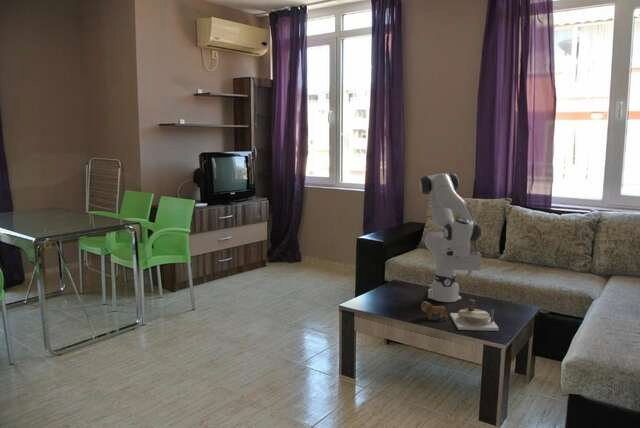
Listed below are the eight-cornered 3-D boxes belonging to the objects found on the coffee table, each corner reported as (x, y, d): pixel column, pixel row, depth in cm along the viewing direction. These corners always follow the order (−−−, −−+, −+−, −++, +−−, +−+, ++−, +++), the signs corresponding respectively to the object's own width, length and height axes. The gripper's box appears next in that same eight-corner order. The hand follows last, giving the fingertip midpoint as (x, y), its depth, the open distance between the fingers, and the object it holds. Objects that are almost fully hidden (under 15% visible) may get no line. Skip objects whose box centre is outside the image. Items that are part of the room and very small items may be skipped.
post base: (450, 315, 264) (450, 301, 263) (487, 316, 263) (488, 302, 262) (458, 329, 246) (459, 314, 244) (498, 330, 245) (499, 315, 244)
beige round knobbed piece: (454, 309, 264) (455, 297, 263) (483, 310, 263) (484, 298, 262) (461, 321, 247) (462, 308, 246) (493, 322, 246) (494, 309, 245)
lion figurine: (421, 320, 257) (422, 303, 256) (419, 316, 263) (420, 299, 261) (451, 320, 257) (452, 303, 256) (448, 316, 263) (449, 300, 261)
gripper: (480, 250, 257) (478, 276, 260) (438, 249, 258) (437, 276, 260) (483, 253, 251) (481, 280, 253) (441, 252, 252) (440, 279, 254)
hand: (459, 278), depth 257 cm, fingers open, 6 cm apart
